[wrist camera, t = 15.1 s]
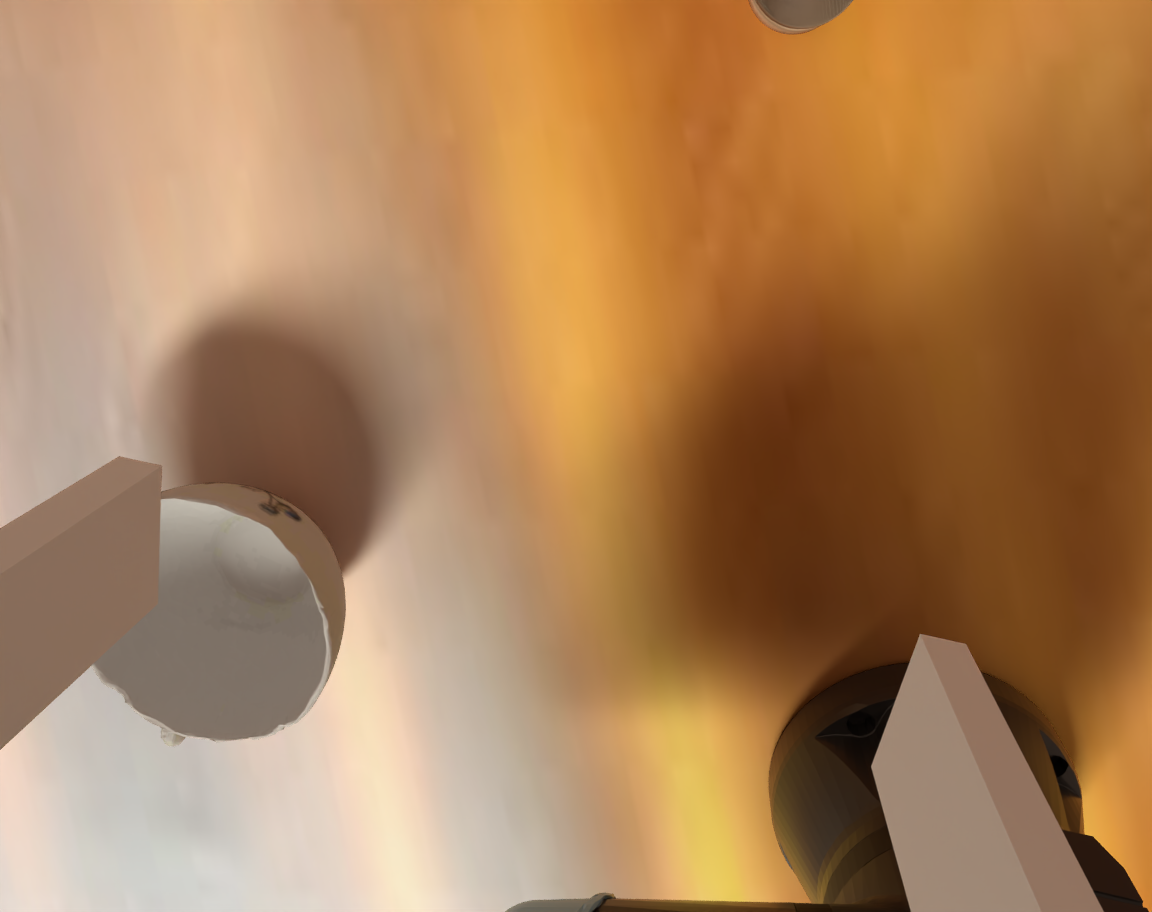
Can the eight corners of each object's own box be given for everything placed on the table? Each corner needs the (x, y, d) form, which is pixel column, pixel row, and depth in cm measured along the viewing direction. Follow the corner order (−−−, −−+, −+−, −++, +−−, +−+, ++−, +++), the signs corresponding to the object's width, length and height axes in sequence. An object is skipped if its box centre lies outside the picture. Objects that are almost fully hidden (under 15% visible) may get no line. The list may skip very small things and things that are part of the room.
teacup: (191, 397, 47) (97, 451, 40) (420, 502, 48) (370, 576, 40) (119, 631, 53) (25, 717, 45) (326, 723, 53) (266, 823, 46)
